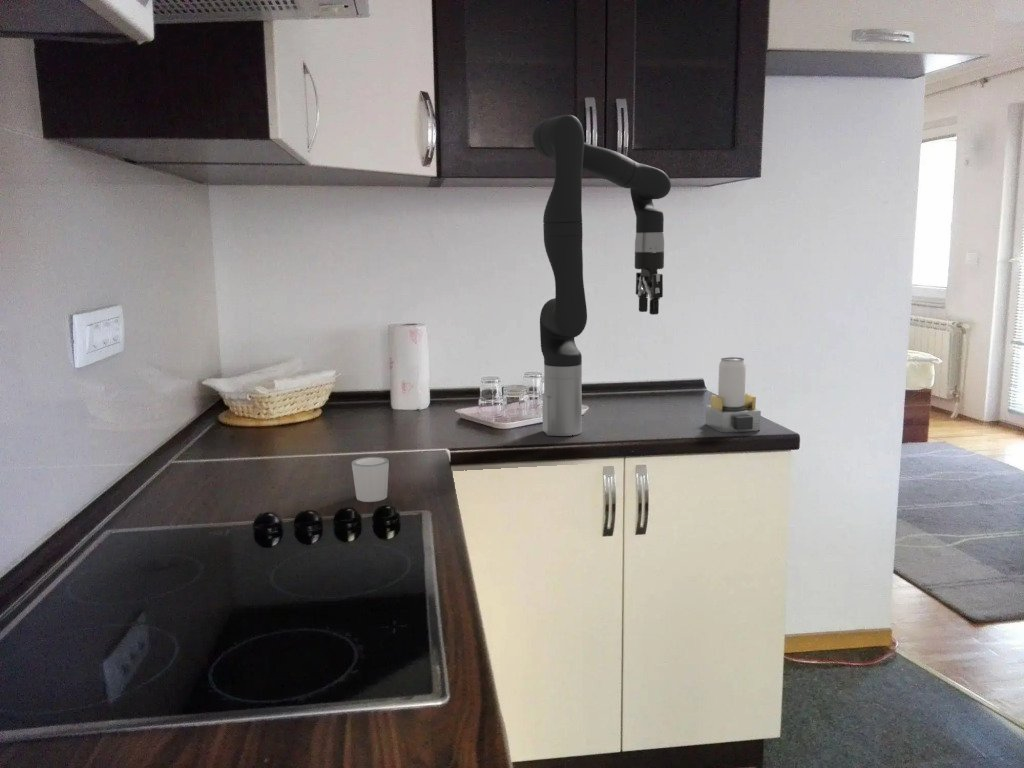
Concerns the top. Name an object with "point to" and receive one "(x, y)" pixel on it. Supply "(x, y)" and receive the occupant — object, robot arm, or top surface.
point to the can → (732, 382)
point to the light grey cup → (370, 478)
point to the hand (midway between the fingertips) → (648, 313)
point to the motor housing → (733, 416)
